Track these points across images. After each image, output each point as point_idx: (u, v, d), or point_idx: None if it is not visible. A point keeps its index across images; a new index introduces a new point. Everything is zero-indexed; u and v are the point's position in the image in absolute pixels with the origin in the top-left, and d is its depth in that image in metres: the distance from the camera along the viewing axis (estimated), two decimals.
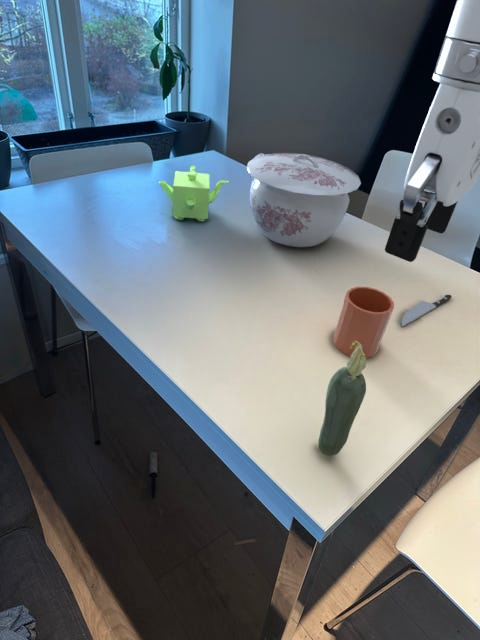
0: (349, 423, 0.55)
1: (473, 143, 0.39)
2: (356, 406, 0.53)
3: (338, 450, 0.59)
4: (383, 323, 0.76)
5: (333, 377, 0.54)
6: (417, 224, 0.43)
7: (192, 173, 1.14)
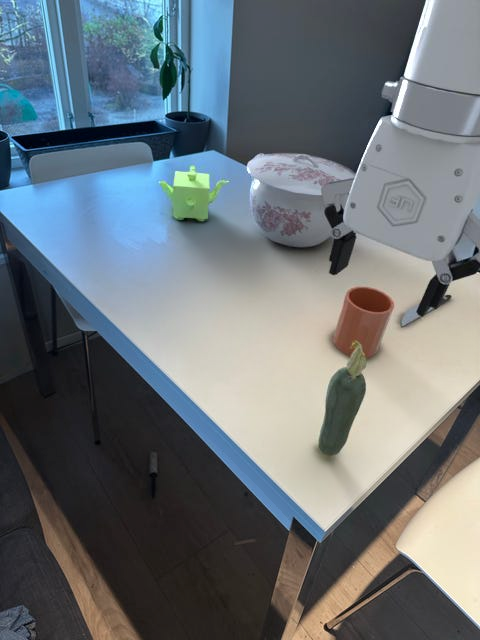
0: (349, 423, 0.55)
1: (366, 167, 0.39)
2: (356, 406, 0.53)
3: (338, 450, 0.59)
4: (383, 323, 0.76)
5: (333, 376, 0.54)
6: (333, 232, 0.45)
7: (192, 173, 1.14)
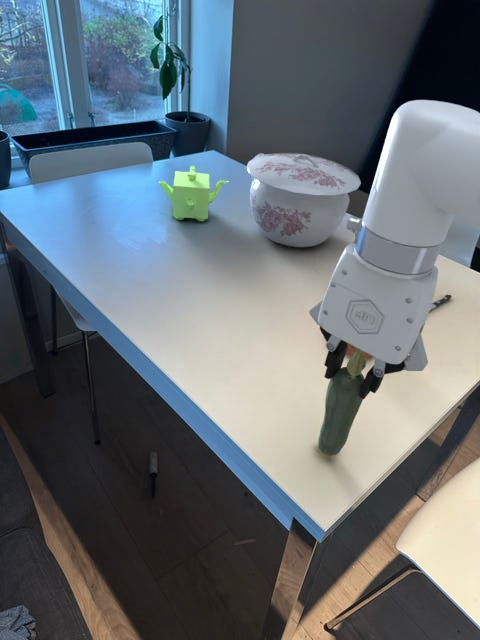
0: (349, 423, 0.55)
1: (335, 285, 0.46)
2: (356, 406, 0.53)
3: (338, 450, 0.59)
4: None
5: (333, 376, 0.54)
6: (328, 347, 0.52)
7: (192, 173, 1.14)
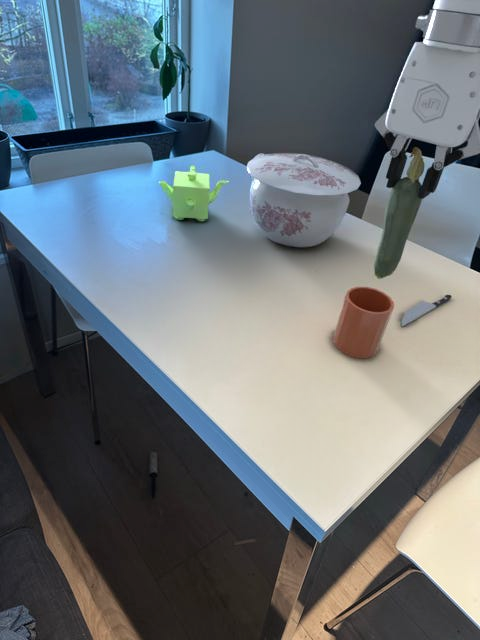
0: (406, 231, 0.63)
1: (404, 80, 0.54)
2: (414, 210, 0.61)
3: (393, 267, 0.67)
4: (383, 323, 0.76)
5: (393, 186, 0.61)
6: (391, 155, 0.60)
7: (192, 173, 1.14)
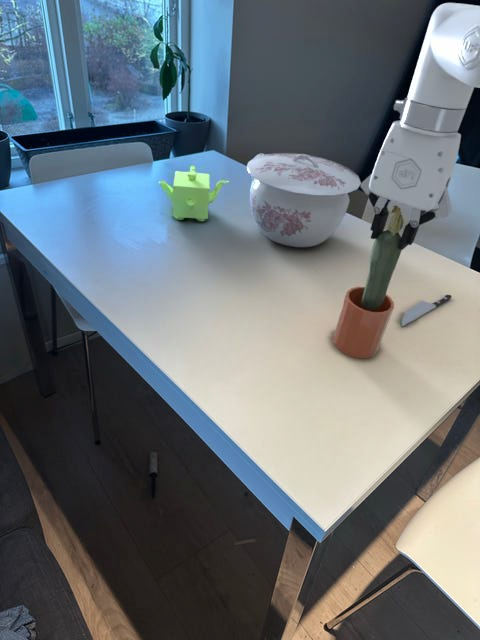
0: (388, 276, 0.72)
1: (384, 152, 0.63)
2: (395, 259, 0.70)
3: (378, 305, 0.76)
4: (383, 323, 0.76)
5: (377, 237, 0.70)
6: (375, 211, 0.69)
7: (192, 173, 1.14)
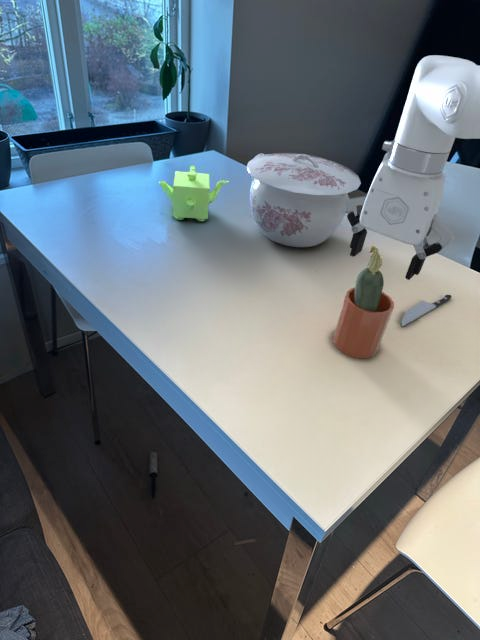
0: (373, 309, 0.75)
1: (373, 190, 0.66)
2: (377, 295, 0.72)
3: None
4: (383, 323, 0.76)
5: (358, 275, 0.73)
6: (352, 229, 0.72)
7: (192, 173, 1.14)
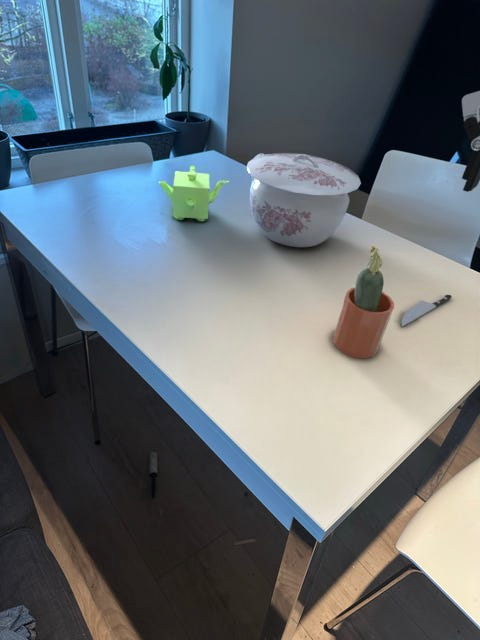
0: (373, 309, 0.75)
1: None
2: (377, 295, 0.72)
3: None
4: (383, 323, 0.76)
5: (358, 275, 0.73)
6: (472, 145, 0.45)
7: (192, 173, 1.14)
